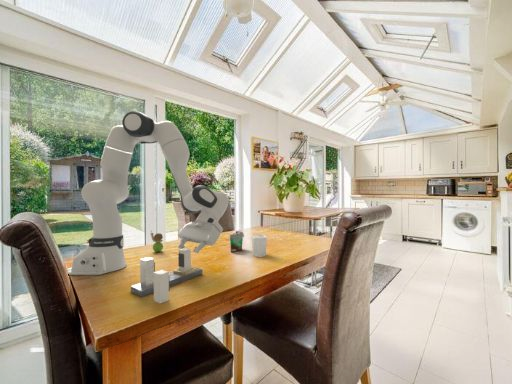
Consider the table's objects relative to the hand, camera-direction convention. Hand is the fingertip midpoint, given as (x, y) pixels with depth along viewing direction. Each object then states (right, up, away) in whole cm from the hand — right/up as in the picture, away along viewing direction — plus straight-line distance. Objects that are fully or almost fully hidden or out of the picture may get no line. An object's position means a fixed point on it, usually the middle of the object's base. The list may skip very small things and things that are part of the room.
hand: (187, 250), depth 98 cm
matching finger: (-1, -8, -1) cm, 8 cm away
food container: (+18, -10, +40) cm, 45 cm away
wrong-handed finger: (-2, -11, -21) cm, 24 cm away
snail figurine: (-28, -10, +37) cm, 47 cm away
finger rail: (-5, -10, -7) cm, 13 cm away
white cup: (+30, -10, +30) cm, 43 cm away
